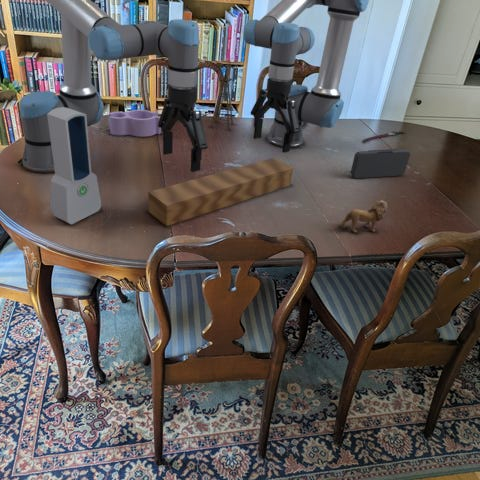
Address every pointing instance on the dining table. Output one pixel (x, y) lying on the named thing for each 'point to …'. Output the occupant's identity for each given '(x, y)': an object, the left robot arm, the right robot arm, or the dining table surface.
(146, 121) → the purple desk organizer
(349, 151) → the dining table surface
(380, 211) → the lion figurine
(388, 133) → the sword
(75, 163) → the electronic device
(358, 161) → the handheld gaming console
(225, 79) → the miniature windmill
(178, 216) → the wide beam
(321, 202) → the dining table surface
